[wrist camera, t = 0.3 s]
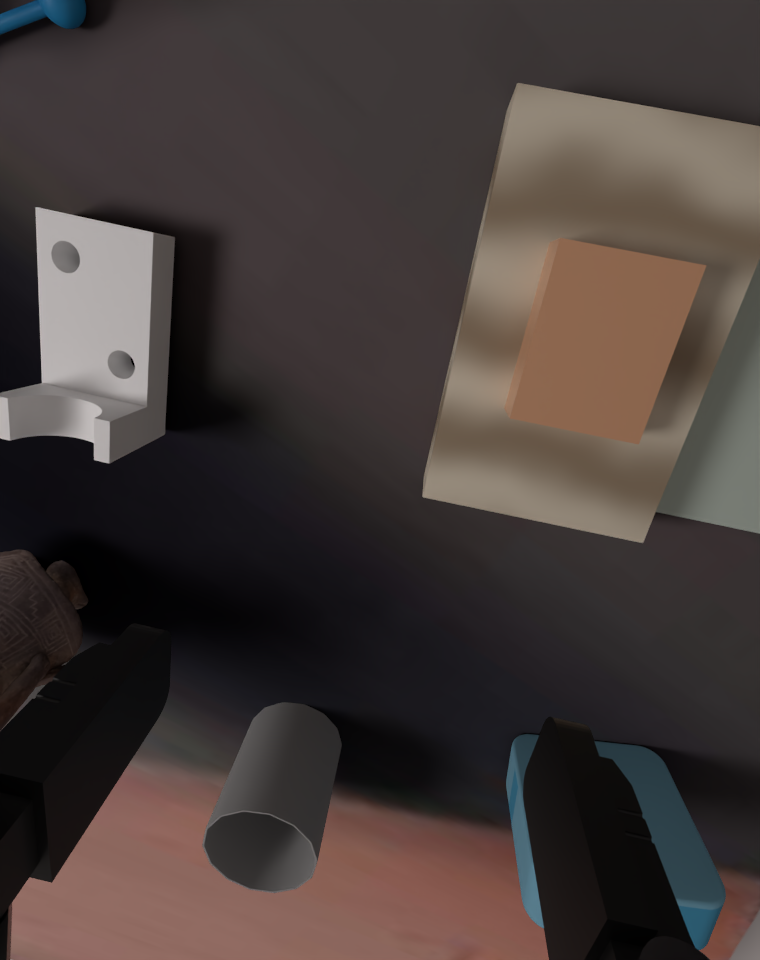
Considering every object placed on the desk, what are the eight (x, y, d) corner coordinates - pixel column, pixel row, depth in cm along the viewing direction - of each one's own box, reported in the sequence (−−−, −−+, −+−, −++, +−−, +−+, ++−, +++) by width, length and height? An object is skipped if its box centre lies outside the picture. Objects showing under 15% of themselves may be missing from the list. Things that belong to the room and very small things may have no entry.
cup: (329, 784, 48) (302, 904, 38) (243, 760, 48) (196, 874, 38) (350, 717, 45) (327, 830, 35) (259, 691, 45) (212, 796, 35)
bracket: (171, 431, 38) (109, 463, 30) (78, 409, 38) (-5, 437, 31) (182, 238, 33) (111, 224, 26) (75, 215, 33) (-23, 194, 26)
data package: (503, 770, 45) (525, 929, 34) (509, 730, 43) (534, 883, 32) (646, 786, 44) (718, 956, 33) (658, 746, 42) (738, 910, 31)
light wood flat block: (506, 110, 28) (517, 82, 25) (760, 156, 28) (810, 135, 24) (423, 476, 36) (422, 497, 33) (621, 516, 36) (642, 543, 32)
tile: (549, 242, 27) (560, 237, 25) (683, 267, 27) (706, 265, 24) (504, 408, 30) (509, 418, 28) (623, 432, 30) (638, 444, 28)
